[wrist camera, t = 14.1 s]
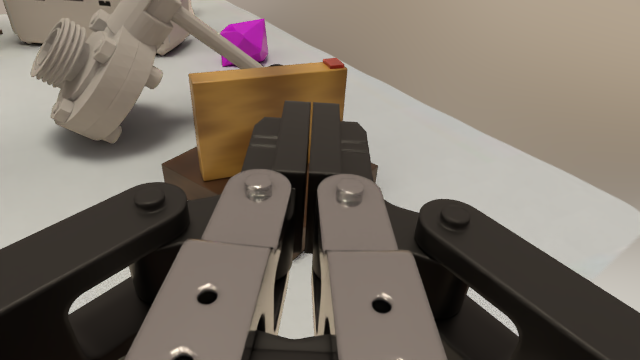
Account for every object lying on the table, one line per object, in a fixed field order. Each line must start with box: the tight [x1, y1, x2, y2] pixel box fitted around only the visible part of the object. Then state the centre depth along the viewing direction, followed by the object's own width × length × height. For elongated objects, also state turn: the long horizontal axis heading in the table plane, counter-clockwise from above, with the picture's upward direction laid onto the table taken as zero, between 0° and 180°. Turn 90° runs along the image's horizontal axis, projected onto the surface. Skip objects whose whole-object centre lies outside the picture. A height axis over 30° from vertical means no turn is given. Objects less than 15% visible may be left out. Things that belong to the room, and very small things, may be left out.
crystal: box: [220, 19, 268, 66], centre depth 54 cm, size 5×5×5 cm
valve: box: [31, 0, 283, 144], centre depth 39 cm, size 10×20×15 cm
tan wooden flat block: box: [189, 58, 347, 181], centre depth 30 cm, size 10×2×7 cm, turn 112°
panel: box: [162, 147, 378, 260], centre depth 32 cm, size 14×14×2 cm
